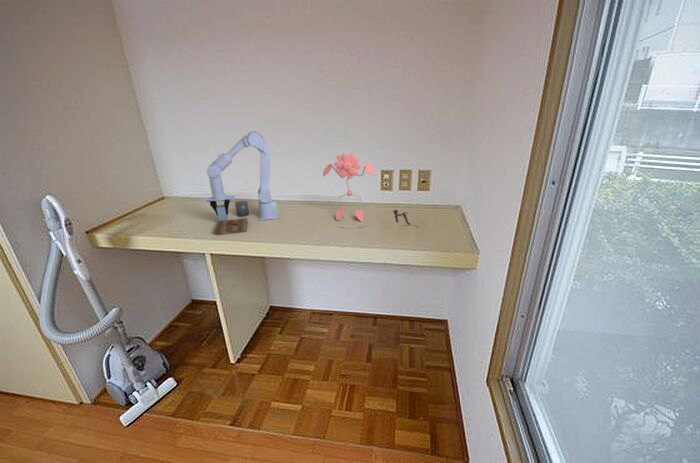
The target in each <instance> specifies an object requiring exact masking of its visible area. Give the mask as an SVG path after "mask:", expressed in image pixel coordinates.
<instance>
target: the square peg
mask: <svg viewBox="0 0 700 463" xmlns="http://www.w3.org/2000/svg"><path fill="white" fill-rule="evenodd" d="M216 209H217V214H218V216H217V217H218V221H224V220H229V214H228V215H226V209H225V205H224V204H217V207H216ZM217 214H216V215H217Z"/></svg>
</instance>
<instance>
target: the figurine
mask: <svg viewBox="0 0 700 463" xmlns="http://www.w3.org/2000/svg"><path fill="white" fill-rule="evenodd" d="M336 159H337V161H335V162H334V164H332V163H329V164H327V165H326V166H325V168H324V169H323V172H322V177H325V176H327V175H328V174H329V173H330V172H331V170H332V169H333V170H334V171H335V173H336V174H337V175H338V176H339V177H340V178H342V179H345V178H346V177H347V179H346V180H345V181H346V182H345V184H346V186H347V189H348V190H347V192H346V194H343V195H340V196H339V197H338V198H339V199H341V198H342V197H345V196H346V195H347V196H349V197H351V196H353V197H358V199H359V202H361V199H362V198H361V196H358V195H355V194H353V191H352V190H350V187H349V183H348V181H349V179H353V178H354V177H356V176H357V177H363V176H364V174H365V170H366V172H367V173H368V174H370V175H372V176H375V167H374V166H373V164H371V163H370V162H368V161H365V163H364V167H363V170H362V172H361V174H359V172H358V171H359V170H360V169H361V168H362V166H361V164H360V163H359V159H358V158H356V157H355V154H354V152H350V153H349V155H348V154H347V153H345V152H344V153H342V155H341V154H340V155H337V156H336ZM333 165H334V166H333ZM335 167H336V168H335ZM353 176H354V177H353ZM341 203H342V201H341V200H339V205H340V208H339V209H337V211H336V213H335V219H336V221H337V222H338V221H339V220H341V219H342V218H344V214H345V210H344V208H342V204H341ZM360 208H361V203H359V205H358V209H356V212H355V215H356V218H357V219H358V220H359V221H360V222H363V219H364V213H363V211H362V209H360ZM331 217H333V215H331ZM363 227H367V225H365V226H362V228H363ZM339 228H341V229H343V227H341V226H339ZM360 228H361V226H359V227H358V229H360Z"/></svg>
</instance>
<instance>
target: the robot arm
mask: <svg viewBox="0 0 700 463" xmlns="http://www.w3.org/2000/svg"><path fill="white" fill-rule="evenodd" d="M250 146H252V147H253V148H254V149H256V150H257V151H258V152H260V161H259V162H260V163H259V164H260V165H259V166H260V168H259V170H260V171H259V173H260V174H259V176H260V178H259V188H258V190H257V194H258V196H257V198H258V201H257V202H258V209H259V221H266V220H273V219H274V220H275V219H279V216H278V215H279V210H278V207H277V206H278V205H277V200H275V199H274V200H273V199H272V196H271V191H270V168H271V167H270V165H271V163H270V162H271V147H270V146H269V144H268V143H267V142H266V140H265V139H264V136H263V135H262V134H261V133H260V132H258V131H257V130H251V131H250V132H248V134H246V135H244V136H242V138H240V139H239V140H238V141H237V142H236V144H234V145H233V147H231V148H230V149H229V150H228V151H227V152H225V153H224V152H223V153H220V154H218V157H216V159H215V160H214V161H211V164H210V165H208V167H207V169H206V175H207V176H208V179H209V186H210V189H211V195H212V196H211V197H205V198H203V202H204V204H207V203H209V205H210V207H211V208H212V209H213V210H214V213H215V214H216V216H217V217H218V214H217V209H216V207H217V205H218V204H217V202H223V205H225V209H226V215H228V216H229V205H230V202H231V201H235V200H236V197H235V195H225V194H226V193H225V189H224V184H223V179H222V175H221V172H224V171H225V170H226V169H227V168H228V167H229V166H230V165H231V164H232V163H233V158H234V157H235V156H236V155H237V154H238V153H239V152H240V151H241V150H243V149H245V148H250Z"/></svg>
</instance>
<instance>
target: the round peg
mask: <svg viewBox="0 0 700 463" xmlns="http://www.w3.org/2000/svg"><path fill="white" fill-rule="evenodd" d="M234 205H235V211H236V216H237V217H240V218H241V217H242V218H243V217H247V216H249V215H250V210H249V204H248V201H247V200H238V201H235V203H234Z"/></svg>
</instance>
